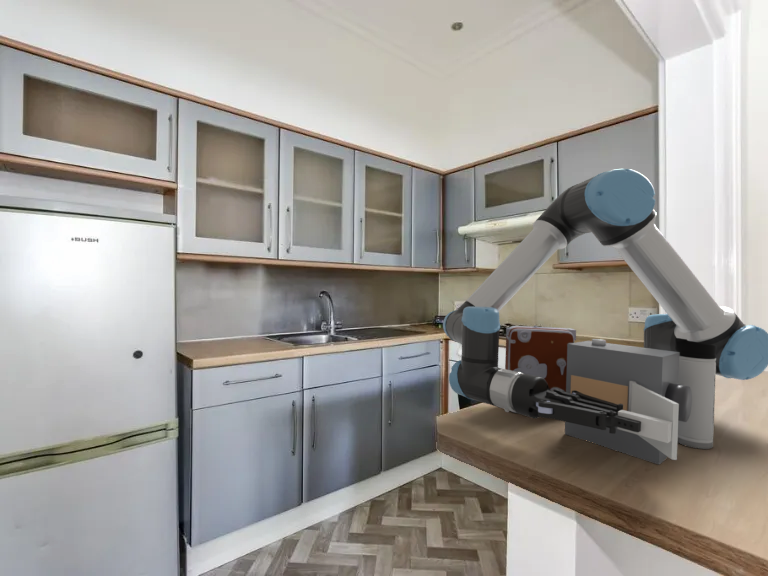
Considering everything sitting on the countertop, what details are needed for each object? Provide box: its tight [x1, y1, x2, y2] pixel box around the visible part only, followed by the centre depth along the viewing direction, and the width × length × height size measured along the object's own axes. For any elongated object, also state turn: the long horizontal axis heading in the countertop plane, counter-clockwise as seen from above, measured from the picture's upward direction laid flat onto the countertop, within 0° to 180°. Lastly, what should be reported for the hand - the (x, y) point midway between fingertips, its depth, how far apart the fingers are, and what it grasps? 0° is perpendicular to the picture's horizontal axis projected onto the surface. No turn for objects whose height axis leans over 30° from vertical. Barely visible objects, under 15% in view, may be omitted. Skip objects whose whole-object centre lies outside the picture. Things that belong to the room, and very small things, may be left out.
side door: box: [628, 381, 679, 461], centre depth 62 cm, size 12×1×8 cm, turn 173°
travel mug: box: [675, 338, 717, 450], centre depth 75 cm, size 6×7×20 cm
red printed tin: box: [504, 325, 577, 414], centre depth 91 cm, size 9×19×20 cm, turn 78°
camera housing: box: [564, 338, 692, 465], centre depth 73 cm, size 18×9×19 cm, turn 38°
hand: (669, 432), depth 55 cm, fingers closed
